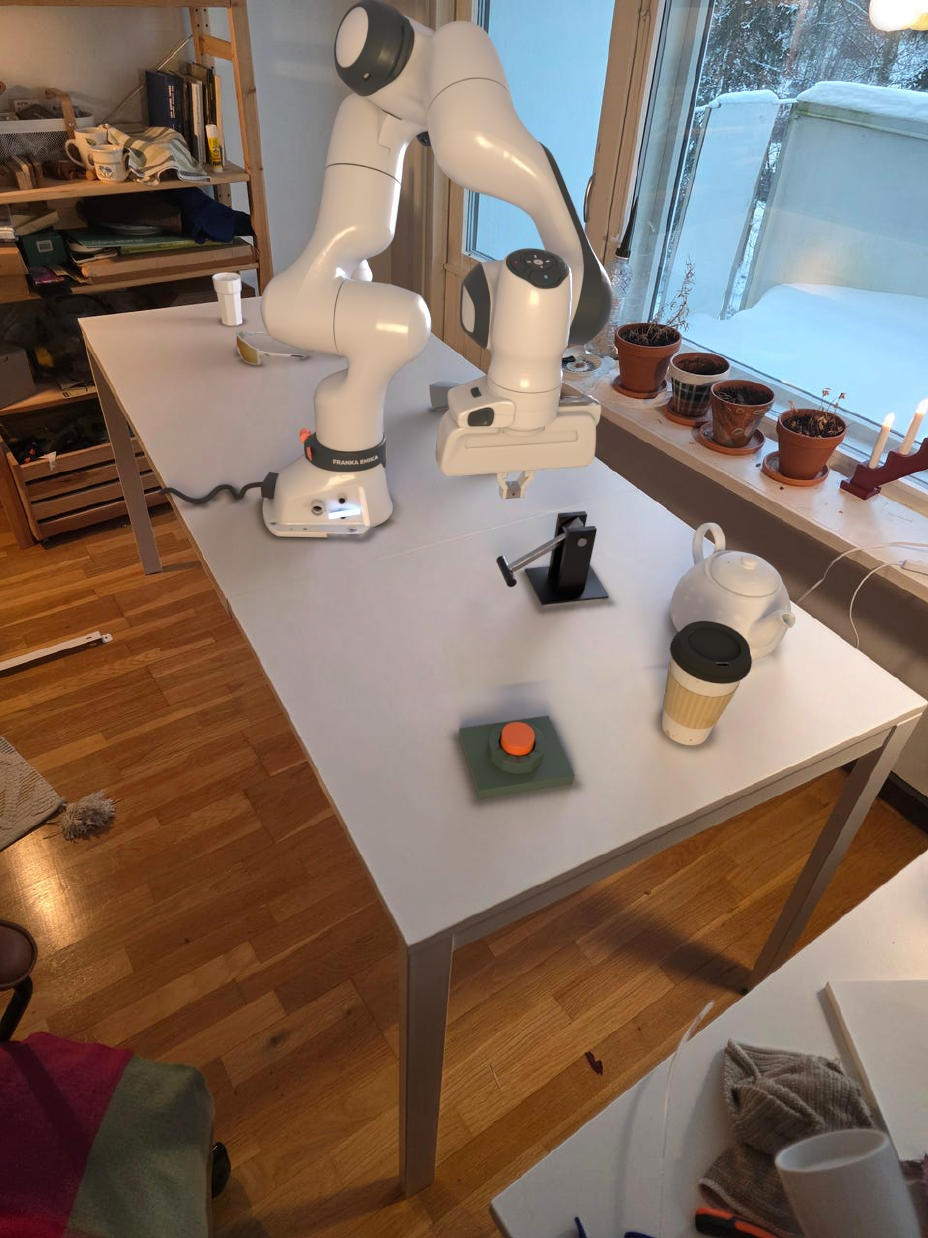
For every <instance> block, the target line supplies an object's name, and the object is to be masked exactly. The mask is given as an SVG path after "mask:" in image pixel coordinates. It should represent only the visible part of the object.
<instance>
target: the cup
mask: <svg viewBox="0 0 928 1238" xmlns="http://www.w3.org/2000/svg"><path fill="white" fill-rule="evenodd" d="M241 277H242V276H241V275H240V274H238V273H236V272H227V271H225V272H219V273H215V274H213V275H212V276H211V278H212V283H213V284H212V285H213V289H214V291H215V293H216V296H217V301H218V305H219V306H218V307H219V312H220V317H221V323H222V325H226V326H228V327H229V326H238V325H241V324H243V315H242V313H243V312H242V299H241V291H242V278H241Z"/></svg>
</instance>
